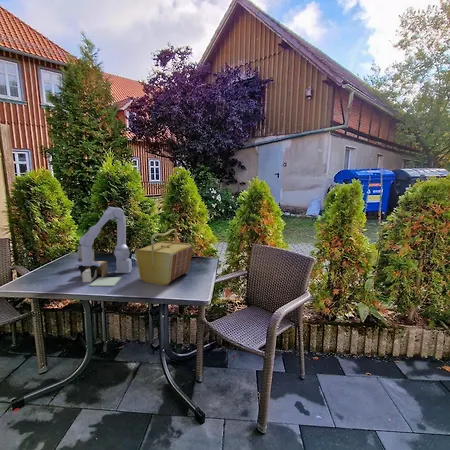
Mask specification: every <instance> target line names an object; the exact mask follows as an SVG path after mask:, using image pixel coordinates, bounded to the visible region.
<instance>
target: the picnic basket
mask: <svg viewBox="0 0 450 450" xmlns="http://www.w3.org/2000/svg"><path fill="white" fill-rule="evenodd" d="M173 231H174V241H167V240H161V241H159V242H156V243H154V238H155V237H157V236H159V237H164V236H165V237H166V236H167V235H170V234H171V233H172V232H173ZM193 249H194V246H193V245H192V244H191V243H189V242H188V243H187V242H186V243H185V242H178V230H177V229H176V228H172V229H170V230H168V231H167V232H164V233H161V232H160V233H159V232H158V233H154V234H153V235H152V236H151V237H150V245H147V246H144V247H142V248H138V249H135V251H134V256H135V260H136V264H137V270H138V274H139V278H140V279H141V281H143V282H144V283H149V284H155V285H161V286H167V285H169V284H170V283H171V282H172V281H174V280H176V279H178V278H179V277H181V276H183V275H184V274H186V273H188V272H190V266H191V260H192V256H193Z"/></svg>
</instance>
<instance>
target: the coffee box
mask: <svg viewBox="0 0 450 450" xmlns="http://www.w3.org/2000/svg"><path fill="white" fill-rule="evenodd" d="M92 258H93V261H95V250H94V243H93V244H92ZM77 259H78V261H77V262H82V248H81V244H79V245H77Z"/></svg>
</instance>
